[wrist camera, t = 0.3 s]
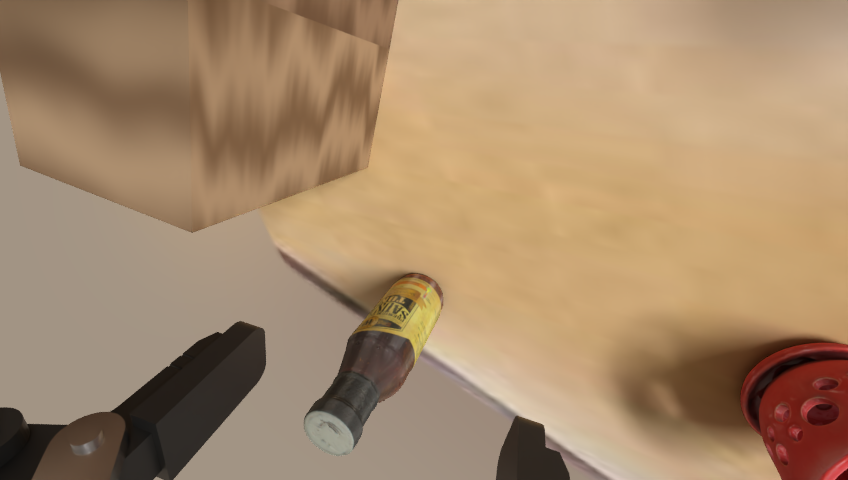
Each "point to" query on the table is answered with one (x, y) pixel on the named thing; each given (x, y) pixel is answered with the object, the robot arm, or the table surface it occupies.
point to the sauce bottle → (375, 362)
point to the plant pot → (802, 410)
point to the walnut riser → (194, 97)
